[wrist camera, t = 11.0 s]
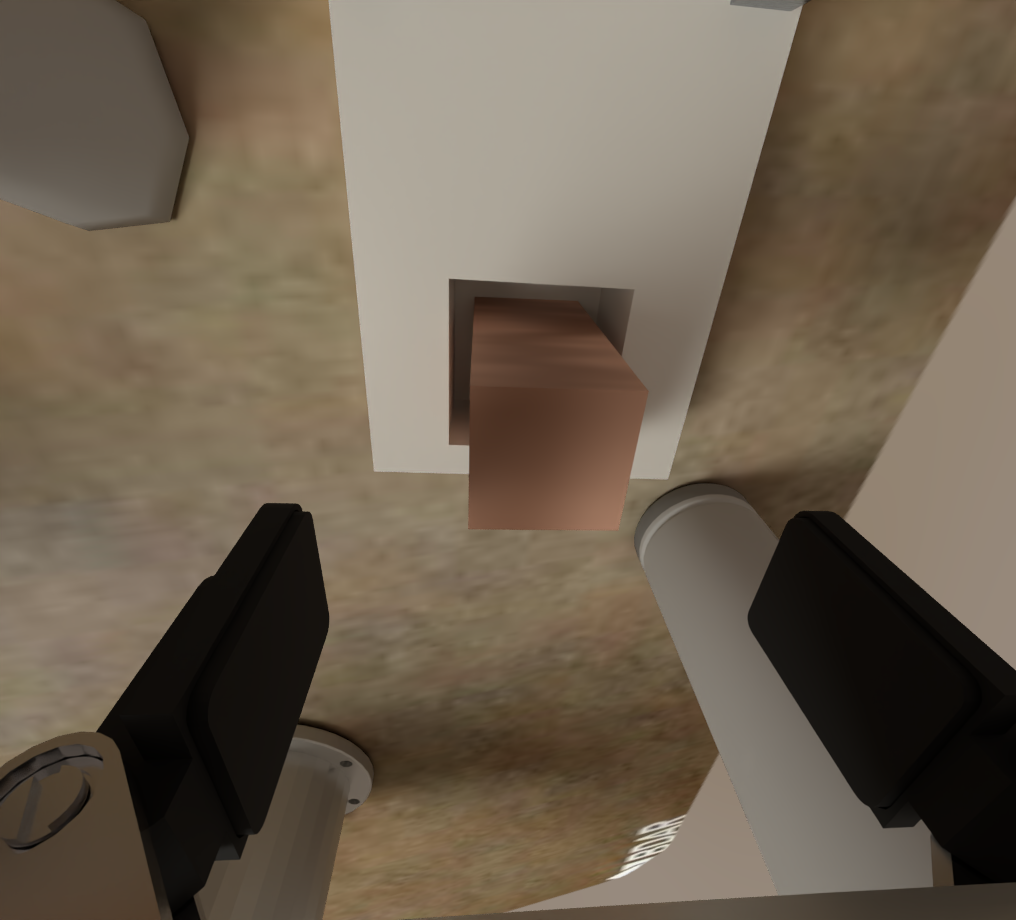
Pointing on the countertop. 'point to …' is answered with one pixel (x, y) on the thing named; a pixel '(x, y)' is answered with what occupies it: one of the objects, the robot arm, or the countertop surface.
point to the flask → (86, 115)
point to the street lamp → (771, 4)
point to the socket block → (544, 189)
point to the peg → (548, 418)
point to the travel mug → (763, 703)
